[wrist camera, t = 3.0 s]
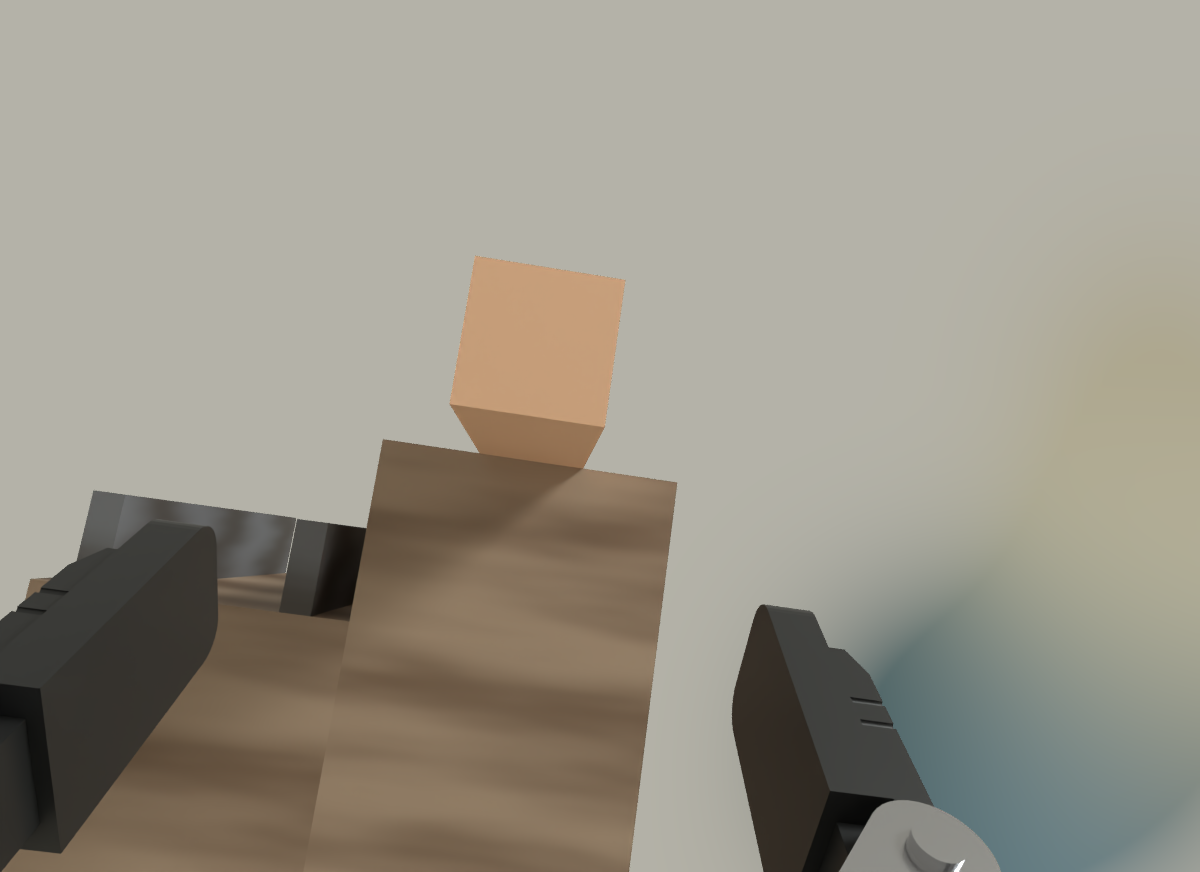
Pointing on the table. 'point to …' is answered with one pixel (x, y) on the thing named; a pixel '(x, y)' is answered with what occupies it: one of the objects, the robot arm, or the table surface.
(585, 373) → the bar
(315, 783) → the wooden knife block
